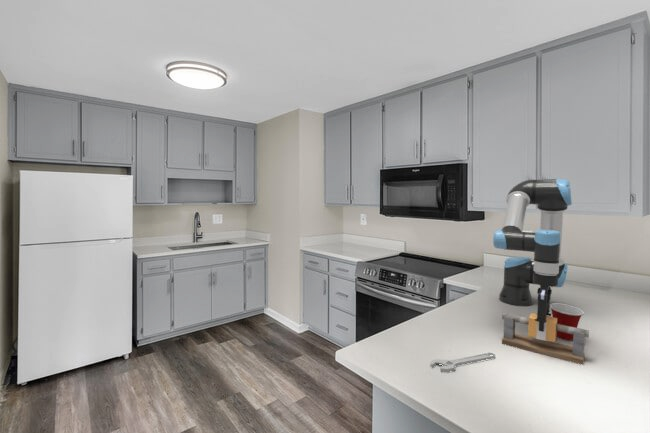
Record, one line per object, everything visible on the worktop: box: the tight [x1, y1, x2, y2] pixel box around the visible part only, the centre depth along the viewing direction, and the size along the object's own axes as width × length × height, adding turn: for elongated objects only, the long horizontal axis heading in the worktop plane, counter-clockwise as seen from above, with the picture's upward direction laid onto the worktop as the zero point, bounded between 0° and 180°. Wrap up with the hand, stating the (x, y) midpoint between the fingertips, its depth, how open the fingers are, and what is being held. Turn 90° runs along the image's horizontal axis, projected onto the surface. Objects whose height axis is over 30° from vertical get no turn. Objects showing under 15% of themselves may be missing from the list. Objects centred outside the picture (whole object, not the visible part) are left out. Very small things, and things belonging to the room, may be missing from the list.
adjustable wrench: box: [430, 352, 496, 373], centre depth 108 cm, size 25×6×2 cm, turn 105°
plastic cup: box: [549, 302, 585, 341], centre depth 129 cm, size 11×11×12 cm
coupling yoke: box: [527, 312, 557, 343], centre depth 119 cm, size 6×8×7 cm
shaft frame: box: [501, 312, 590, 365], centre depth 119 cm, size 10×26×10 cm, turn 51°
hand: (542, 336), depth 119 cm, fingers closed on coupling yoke, 6 cm apart
